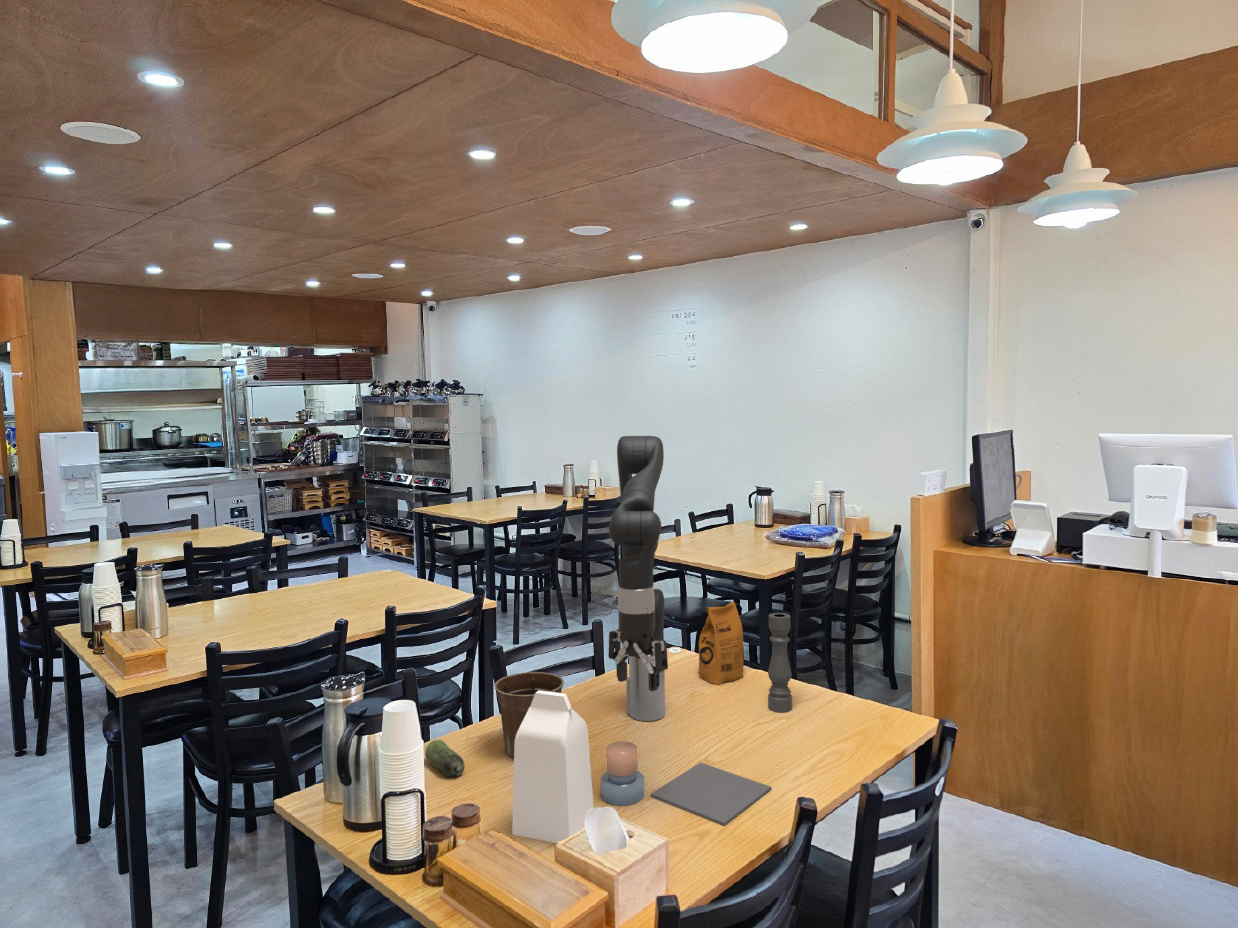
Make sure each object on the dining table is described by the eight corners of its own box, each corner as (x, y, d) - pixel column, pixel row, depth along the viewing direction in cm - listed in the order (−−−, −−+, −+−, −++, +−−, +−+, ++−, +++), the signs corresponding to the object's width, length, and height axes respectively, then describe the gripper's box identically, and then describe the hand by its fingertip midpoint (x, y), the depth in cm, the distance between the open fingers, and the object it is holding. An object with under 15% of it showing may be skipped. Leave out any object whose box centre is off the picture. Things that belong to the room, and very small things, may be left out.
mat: (650, 796, 158) (650, 793, 158) (700, 764, 172) (700, 762, 172) (724, 825, 147) (724, 822, 147) (771, 789, 160) (771, 786, 160)
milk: (512, 834, 145) (508, 700, 143) (539, 804, 156) (536, 679, 154) (569, 845, 141) (566, 708, 139) (594, 814, 152) (591, 686, 150)
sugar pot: (592, 796, 159) (591, 770, 158) (620, 779, 166) (619, 755, 165) (625, 810, 153) (624, 783, 153) (653, 792, 160) (652, 767, 159)
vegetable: (422, 761, 177) (421, 740, 176) (443, 755, 180) (442, 734, 179) (448, 784, 166) (447, 761, 165) (470, 777, 169) (469, 754, 168)
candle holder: (793, 705, 205) (792, 613, 204) (790, 713, 200) (790, 619, 198) (769, 702, 208) (769, 611, 206) (766, 711, 202) (765, 617, 200)
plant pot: (528, 729, 193) (527, 666, 192) (579, 744, 184) (577, 678, 183) (482, 753, 180) (479, 686, 179) (533, 771, 170) (531, 700, 169)
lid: (600, 770, 159) (599, 748, 158) (620, 759, 163) (620, 738, 163) (624, 779, 154) (623, 757, 154) (643, 767, 159) (643, 746, 159)
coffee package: (694, 677, 228) (693, 604, 227) (726, 669, 235) (725, 598, 233) (715, 687, 220) (714, 611, 218) (748, 678, 226) (747, 605, 225)
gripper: (598, 606, 159) (600, 682, 160) (651, 617, 150) (652, 698, 151) (623, 599, 165) (624, 673, 166) (675, 609, 155) (676, 688, 156)
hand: (637, 685), depth 158 cm, fingers open, 8 cm apart
